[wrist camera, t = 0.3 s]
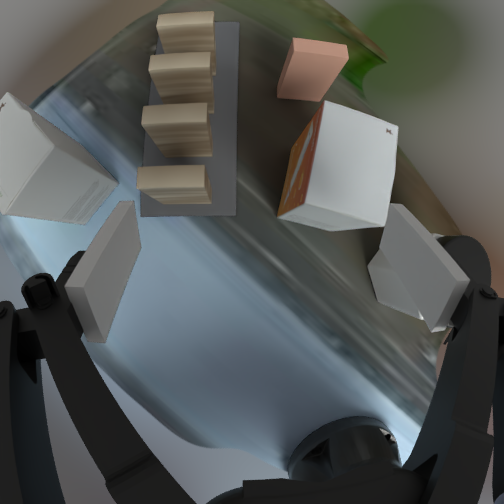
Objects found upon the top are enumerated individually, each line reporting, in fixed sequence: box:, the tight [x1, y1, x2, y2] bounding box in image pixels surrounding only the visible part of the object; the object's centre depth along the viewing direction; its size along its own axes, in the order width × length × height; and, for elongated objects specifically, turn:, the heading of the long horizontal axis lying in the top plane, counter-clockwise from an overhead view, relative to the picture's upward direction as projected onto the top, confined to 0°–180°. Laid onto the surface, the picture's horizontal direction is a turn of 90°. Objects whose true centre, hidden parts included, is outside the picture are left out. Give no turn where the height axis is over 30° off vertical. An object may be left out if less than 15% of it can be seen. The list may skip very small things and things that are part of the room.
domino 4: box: [137, 165, 212, 204], centre depth 27 cm, size 2×5×10 cm, turn 90°
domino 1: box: [156, 11, 217, 76], centre depth 26 cm, size 2×5×10 cm, turn 90°
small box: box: [277, 100, 398, 231], centre depth 27 cm, size 8×6×13 cm
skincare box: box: [0, 92, 119, 225], centre depth 24 cm, size 8×7×16 cm
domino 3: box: [141, 103, 213, 158], centre depth 27 cm, size 2×5×10 cm, turn 90°
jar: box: [367, 234, 491, 328], centre depth 28 cm, size 9×8×12 cm
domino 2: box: [148, 52, 215, 114], centre depth 26 cm, size 2×5×10 cm, turn 90°
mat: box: [140, 22, 239, 217], centre depth 32 cm, size 25×10×1 cm, turn 0°
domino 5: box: [277, 38, 349, 102], centre depth 28 cm, size 2×5×10 cm, turn 90°
